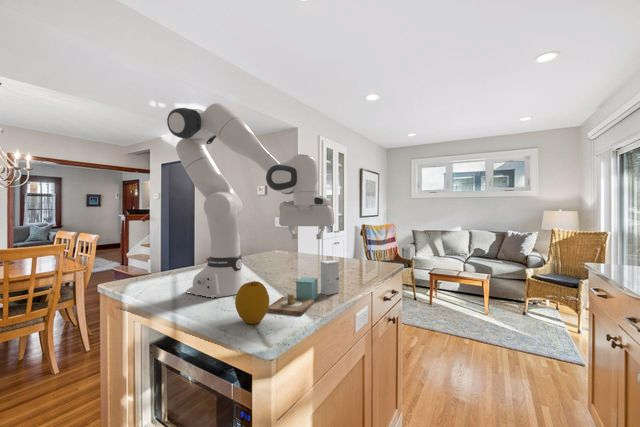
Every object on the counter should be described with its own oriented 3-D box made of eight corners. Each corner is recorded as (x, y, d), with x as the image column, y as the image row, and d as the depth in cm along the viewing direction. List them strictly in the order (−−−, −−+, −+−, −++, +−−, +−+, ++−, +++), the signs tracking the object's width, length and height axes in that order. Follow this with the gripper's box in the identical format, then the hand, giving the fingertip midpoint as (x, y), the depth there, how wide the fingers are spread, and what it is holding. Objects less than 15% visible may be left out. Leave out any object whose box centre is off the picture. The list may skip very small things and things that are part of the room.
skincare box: (326, 295, 107) (326, 263, 106) (320, 292, 110) (319, 261, 110) (339, 292, 110) (339, 261, 110) (332, 290, 114) (332, 259, 114)
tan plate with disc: (266, 311, 91) (266, 298, 90) (282, 300, 102) (282, 288, 102) (301, 315, 87) (301, 301, 87) (314, 303, 98) (314, 290, 98)
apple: (245, 314, 89) (245, 276, 89) (275, 316, 87) (274, 277, 86) (228, 327, 79) (228, 284, 79) (261, 329, 77) (260, 286, 77)
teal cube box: (296, 300, 101) (296, 281, 101) (302, 295, 107) (302, 277, 107) (312, 301, 100) (312, 282, 100) (317, 296, 105) (317, 278, 105)
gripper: (275, 201, 103) (276, 239, 103) (330, 199, 97) (331, 240, 97) (283, 201, 109) (283, 237, 109) (335, 199, 103) (336, 238, 103)
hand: (306, 239), depth 103 cm, fingers open, 8 cm apart
